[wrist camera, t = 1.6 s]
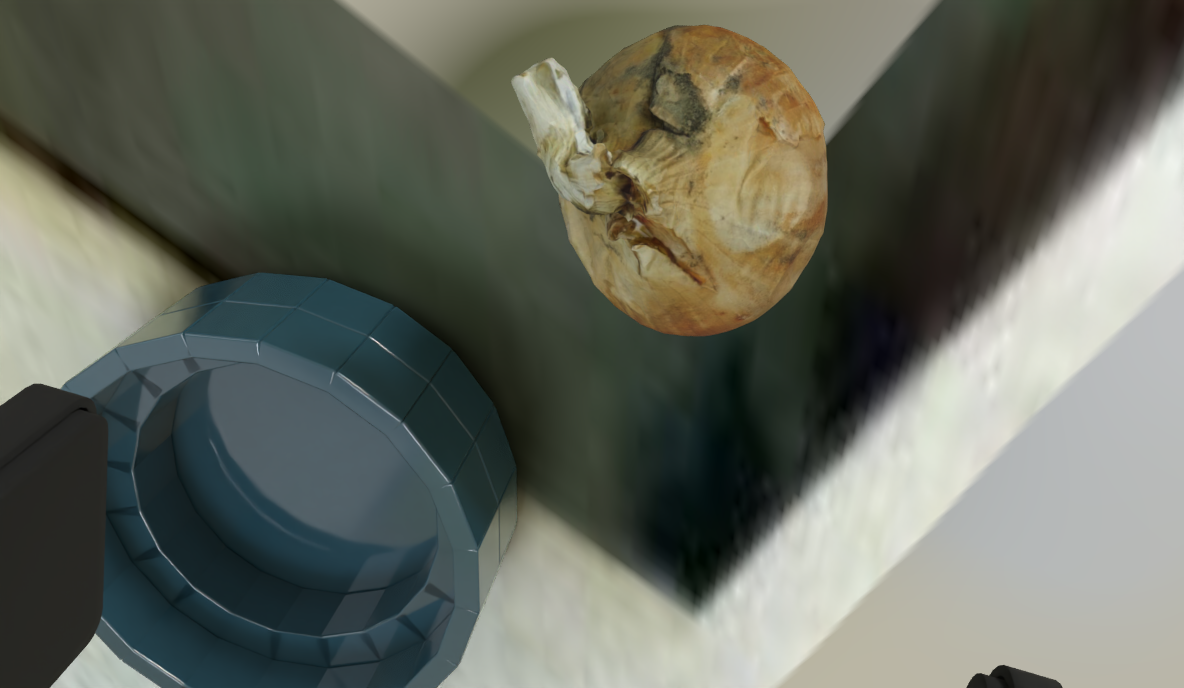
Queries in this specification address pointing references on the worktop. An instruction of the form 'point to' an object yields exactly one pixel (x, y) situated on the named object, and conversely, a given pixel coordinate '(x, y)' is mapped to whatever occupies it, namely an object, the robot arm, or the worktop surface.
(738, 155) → the onion
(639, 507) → the worktop surface
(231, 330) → the bowl
